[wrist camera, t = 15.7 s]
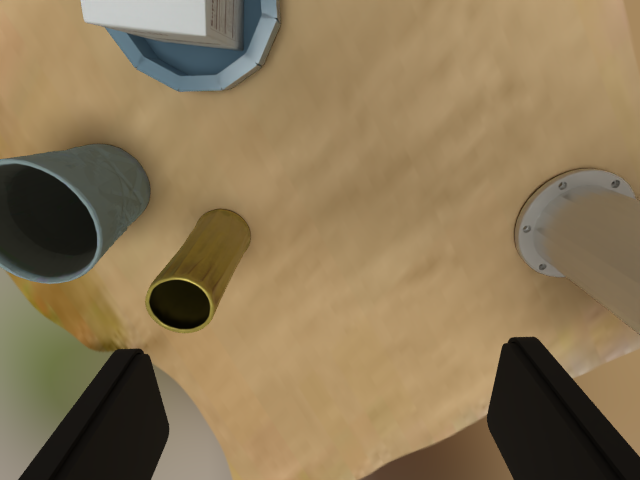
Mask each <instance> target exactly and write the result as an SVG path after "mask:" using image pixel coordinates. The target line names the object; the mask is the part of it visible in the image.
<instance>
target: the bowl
mask: <svg viewBox="0 0 640 480" xmlns="http://www.w3.org/2000/svg"><path fill="white" fill-rule="evenodd" d="M280 24H281V20H280V4H279V0H244V23H243V51H237V50H230V49H221V48H212V47H203V46H195V45H186V44H178V43H165V42H160V41H156V40H152V39H148V38H144V37H140V36H137V35H133V34H129V33H126V32H122V31H118V30H114V29H110V28H106V27H105V28H106V30H107V31H108V32H109V34H110V35H111V36H112V38H113V39H114V40H115V42H116V43H117V44H118V46H119V47H120V48H121V50H122V51H123V53H124V54H125V55H126V57H127V58H128V59H129V61H130V62H131V63H132V65H133V66H134V67H135V68H137V70H139V71H141V72H143V73H145V74H146V75H148V76H150V77H152V78H154V79H156V80H158V81H159V82H161V83H163V84H165V85H167V86H169V87H171V88H173V89H174V90H176V91H179V92H183V91H214V90H229V89H232V88H233V87H234V86H236V85H237V84H239V83H240V82H241V81H243V80H244V79H246V78H247V77H249V76H250V75H251V74H253V73H254V72H256V71H257V70H258V69H260V68H261V67H262V65H264V63H265V60H266V58H267V56H268V53H269V51H270V49H271V46H272V44H273V42H274V39H275V37H276V35H277V32H278V30H279V28H280Z"/></svg>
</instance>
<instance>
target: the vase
mask: <svg viewBox="0 0 640 480" xmlns="http://www.w3.org/2000/svg"><path fill="white" fill-rule="evenodd" d="M249 243H250V231H249V228H248V225H247V224H246V222H245V221H244V220H243V219H242V218H241V217H240V216H239V215H237V214H236V213H234V212H231V211H228V210H223V209H217V210H213V211H210V212H207V213H206V214H204V215H203V216H202V217H201V218H200V219H199V221H198V222H197V225H196V226H195V228H194V229H193V231H192V232H191V234H190V235H189V237H188V238H187V240H186V241H185V243H184V244H183V246H182V247H181V248H180V250H179V251H178V252H177V253H176V255H175V256H174V257H173V258H172V259H171V261H170V262H169V263H168V264H167V265H166V267H165V268H164V269H163V270H162V271H161V273H160V274H159V275H158V276H157V277H156V279H155V280H154V281H153V282H152V284H151V285H150V287H149V290H148V292H147V295H146V299H145V304H146V309H147V311H148V313H149V315H150V316H151V317H152V319H153V320H154V321H155V322H156V323H158V324H159V325H160V326H162V327H164V328H165V329H168V330H171V331H174V332H178V333H192V332H196V331H199V330H201V329H203V328H204V327H205V326H207V325H208V324H209V323H210V322H211V320H212V318H213V316H214V314H215V311H216V309H217V307H218V305H219V302H220V300H221V298H222V296H223V294H224V292H225V289H226V287H227V285H228V283H229V281H230V279H231V277H232V275H233V273H234V271H235V269H236V267H237V265H238V263H239V262H240V260H241V258H242V256H243V254H244V252H245V251H246V250H247V248H248V246H249Z"/></svg>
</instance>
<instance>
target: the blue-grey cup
mask: <svg viewBox="0 0 640 480" xmlns="http://www.w3.org/2000/svg"><path fill="white" fill-rule="evenodd" d="M149 198H150V184H149V180H148V177H147V175H146V173H145V171H144V169H143V168H142V166H141V165H140V164H139V162H138V161H137V160H136V159H135V158H134V157H132V156H131V155H130V154H128V153H127V152H125V151H123V150H122V149H121V148H116V147H114V146H111V145H106V144H91V145H85V146H81V147H75V148H72V149H69V150H66V151H53V152H47V153H41V154H34V155H29V156H21V157H14V158H7V159H0V267H1V268H3V269H5V270H6V271H8V272H10V273H12V274H14V275H16V276H18V277H21V278H24V279H27V280H30V281H34V282H40V283H49V284H51V283H62V282H67V281H71V280H74V279H76V278H79V277H81V276H83V275H84V274H86V273H87V272H88V271H89V270H91V269H92V268H93V267H94V265H95V264H96V263H97V262H98V261H99V259H100V258H101V257H102V256H103V255H104V254H105V253H106V251H107V250H108V249H109V247H111V246H112V245H113V244H114V242H115V241H116V240H117V239H118V238H119V237H120V236H121V235H122V234H123V233H124V232H125V231H126V230H127V227H128V226H129V225H131V223H132V222H134V221H135V220H136V219H137V218H138V217H139V216H140V215H141V214H142V212H143V211H144V210H145V209H146V206H147V204H148V202H149Z"/></svg>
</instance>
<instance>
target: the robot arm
mask: <svg viewBox="0 0 640 480" xmlns="http://www.w3.org/2000/svg"><path fill="white" fill-rule="evenodd" d="M515 243H516V248H517V250H518V253H519V255H520V256H521V258H522V259H523V260H524V262H525V263H527V264H528V265H529V266H530V267H531V268H532V269H534V270H535V271H537V272H539V273H541V274H544V275H547V276H552V277H567V278H568V279H569V280H571V281H572V282H573V283H574V284H576V285H577V286H578V287H580V288H581V289H582V290H583V291H585V292H586V293H587V294H588V295H590V296H591V297H592V298H594V299H595V300H596V301H597V302H599V303H600V304H601V305H603V306H604V307H605V308H606V309H608V310H609V311H610V312H611V313H613V314H614V315H615V316H617V317H618V318H619V319H620V320H622V321H623V322H624V323H626V324H627V325H628V326H629V327H631V328H632V329H633V330H634V331H636V332H637V333H638V334H640V201H639V200H637V199H636V197H635V194H634V192H633V190H632V188H631V187H630V185H629V184H628V183H627V182H626V181H625V180H624V179H623V178H621V177H619V176H617V175H616V174H614V173H610V172H607V171H604V170H599V169H593V168H591V169H578V170H573V171H569V172H567V173H564V174H561V175H559V176H557V177H555V178H553V179H552V180H550V181H548V182H547V183H545V184H544V185H543V186H542V187H540V188H539V189H538V190H537V191H536V192H535V193H534V194H533V195H532V196H531V197H530V198H529V199H528V201H527V202H526V204H525V205H524V207H523V208H522V210H521V212H520V215H519V217H518V219H517V223H516V227H515ZM487 422H488V427H489V430H490V432H491V434H492V436H493V438H494V440H495V442H496V444H497V446H498V448H499V450H500V452H501V454H502V456H503V458H504V460H505V463H506V464H507V466H508V468H509V471H510V473H511V475H512V477H513V479H514V480H640V457H639V456H638V455H637V453H636V452H635V451H634V450H633V449H632V448H631V446H630V445H629V444H628V443H627V442H626V441H625V439H624V438H623V437H622V436H621V435H620V434H619V432H618V431H617V430H616V429H615V428H614V427H613V426H612V424H611V423H610V422H609V421H608V420H607V419H606V417H605V416H604V415H603V414H602V413H601V412H600V410H599V409H598V408H597V407H596V406H595V405H594V404H593V402H592V401H591V400H590V399H589V398H588V396H587V395H586V394H585V393H584V392H583V391H582V389H581V388H580V387H579V386H578V385H577V384H576V382H575V381H574V380H573V379H572V378H571V377H570V375H569V374H568V373H567V372H566V371H565V370H564V369H563V367H562V366H561V365H560V364H559V363H558V362H557V360H556V359H555V358H554V357H553V356H552V355H551V353H550V352H549V351H548V350H547V349H546V348H545V346H544V345H543V344H542V343H541V342H540V341H539V340H538V339H537V338H535V337H513V338H510V339H509V341H508V343H505V344H504V345H503V346H502V350H501V354H500V359H499V363H498V368H497V373H496V377H495V382H494V386H493V391H492V396H491V400H490V405H489V409H488V414H487ZM168 435H169V423H168V420H167V416H166V413H165V409H164V406H163V402H162V398H161V395H160V391H159V388H158V384H157V380H156V377H155V373H154V370H153V366H152V362H151V359H150V356H149V355H148V354H144V352H143V351H142V350H141V349H118V350H116V351H115V352H114V353H113V354H112V355H111V356H110V358H109V359H108V361H107V362H106V363H105V364H104V366H103V367H102V368H101V370H100V371H99V372H98V374H97V375H96V377H95V378H94V379H93V381H92V382H91V383H90V384H89V386H88V387H87V389H86V390H85V391H84V393H83V394H82V395H81V397H80V398H79V399H78V401H77V402H76V403H75V405H74V406H73V407H72V409H71V410H70V411H69V413H68V414H67V415H66V416H65V418H64V419H63V421H62V422H61V423H60V424H59V426H58V427H57V429H56V430H55V431H54V432H53V434H52V435H51V437H50V438H49V439H48V441H47V442H46V443H45V445H44V446H43V447H42V449H41V450H40V451H39V453H38V454H37V455H36V457H35V458H34V459H33V461H32V462H31V463H30V465H29V466H28V467H27V469H26V470H25V471H24V473H23V474H22V475H21V477H20V478H19V479H18V480H151V478H152V476H153V473H154V471H155V468H156V466H157V464H158V461H159V459H160V457H161V454H162V451H163V449H164V447H165V444H166V442H167V439H168Z"/></svg>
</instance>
